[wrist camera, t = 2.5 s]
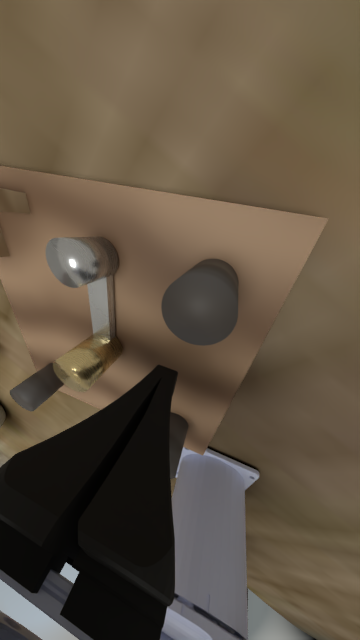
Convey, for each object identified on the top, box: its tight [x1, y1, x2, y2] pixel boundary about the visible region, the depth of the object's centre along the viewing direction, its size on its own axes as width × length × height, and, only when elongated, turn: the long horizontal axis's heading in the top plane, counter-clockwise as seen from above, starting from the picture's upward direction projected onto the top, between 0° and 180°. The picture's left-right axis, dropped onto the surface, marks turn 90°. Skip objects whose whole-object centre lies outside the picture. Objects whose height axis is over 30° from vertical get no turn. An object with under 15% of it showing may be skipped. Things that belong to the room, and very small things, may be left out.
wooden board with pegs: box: [0, 166, 328, 479], centre depth 12 cm, size 20×20×5 cm
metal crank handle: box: [46, 236, 123, 392], centre depth 10 cm, size 9×3×3 cm, turn 171°
